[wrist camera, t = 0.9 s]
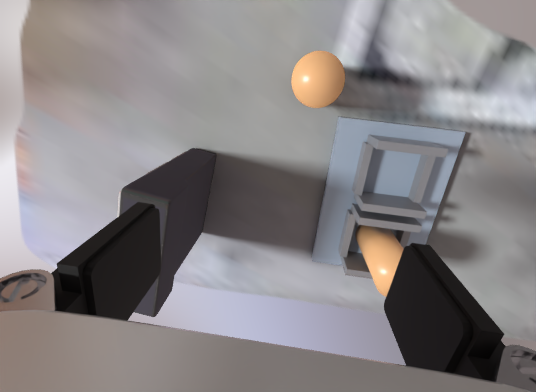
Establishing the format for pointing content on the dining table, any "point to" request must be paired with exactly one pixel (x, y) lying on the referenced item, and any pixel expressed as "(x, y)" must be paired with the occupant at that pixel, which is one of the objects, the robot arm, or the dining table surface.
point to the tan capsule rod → (318, 79)
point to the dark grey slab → (172, 214)
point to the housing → (381, 194)
